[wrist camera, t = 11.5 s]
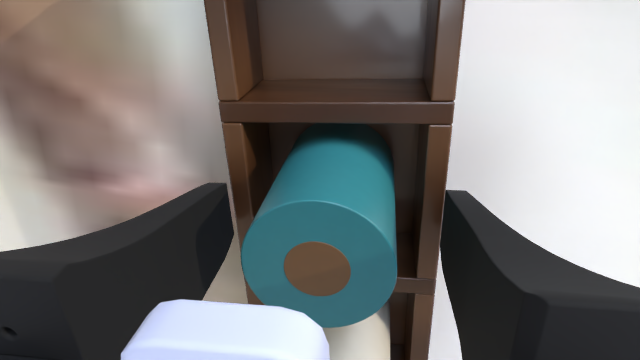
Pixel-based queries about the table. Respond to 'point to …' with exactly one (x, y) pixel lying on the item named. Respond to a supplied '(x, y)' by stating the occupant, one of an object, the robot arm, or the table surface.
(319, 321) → the paper roll
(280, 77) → the rack
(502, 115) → the table surface
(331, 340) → the roll
